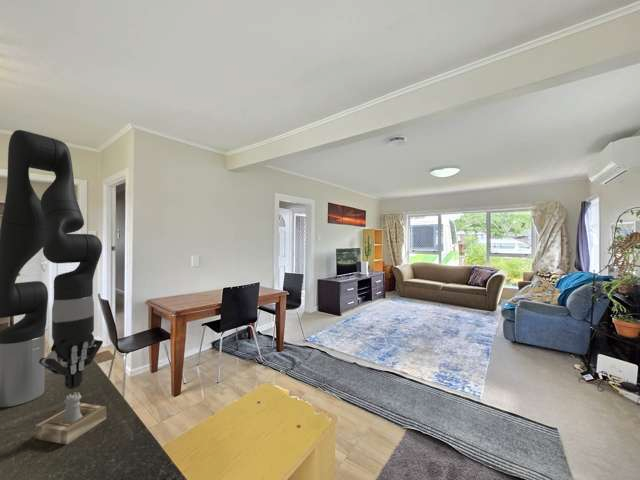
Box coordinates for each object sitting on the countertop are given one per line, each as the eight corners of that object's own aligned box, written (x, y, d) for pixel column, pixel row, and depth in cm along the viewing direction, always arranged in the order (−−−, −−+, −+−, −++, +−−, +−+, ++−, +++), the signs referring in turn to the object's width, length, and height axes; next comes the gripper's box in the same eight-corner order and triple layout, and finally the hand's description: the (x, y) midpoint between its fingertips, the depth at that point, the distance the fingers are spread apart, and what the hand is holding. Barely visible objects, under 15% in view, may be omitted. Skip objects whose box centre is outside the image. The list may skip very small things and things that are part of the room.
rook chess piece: (63, 437, 62) (63, 402, 62) (56, 430, 65) (57, 396, 65) (87, 426, 66) (87, 393, 66) (80, 419, 68) (81, 388, 68)
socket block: (35, 438, 62) (35, 425, 62) (77, 413, 71) (77, 402, 71) (66, 444, 60) (67, 430, 60) (106, 418, 69) (106, 406, 69)
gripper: (89, 308, 73) (89, 373, 72) (27, 323, 60) (27, 401, 60) (112, 309, 71) (112, 375, 71) (54, 324, 58) (54, 405, 58)
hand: (73, 387), depth 65 cm, fingers closed
